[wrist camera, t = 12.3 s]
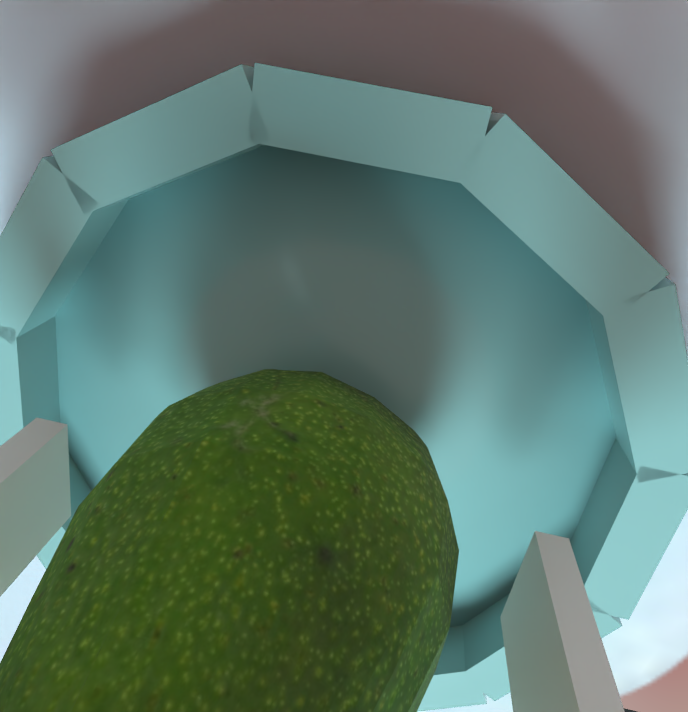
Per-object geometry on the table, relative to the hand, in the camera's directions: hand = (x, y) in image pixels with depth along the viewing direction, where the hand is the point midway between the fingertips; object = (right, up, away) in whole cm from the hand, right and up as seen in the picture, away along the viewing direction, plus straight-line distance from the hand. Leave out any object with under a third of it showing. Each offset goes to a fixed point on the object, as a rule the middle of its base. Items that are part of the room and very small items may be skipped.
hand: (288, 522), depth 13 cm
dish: (+1, +2, +4) cm, 4 cm away
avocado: (+1, +2, +3) cm, 4 cm away
